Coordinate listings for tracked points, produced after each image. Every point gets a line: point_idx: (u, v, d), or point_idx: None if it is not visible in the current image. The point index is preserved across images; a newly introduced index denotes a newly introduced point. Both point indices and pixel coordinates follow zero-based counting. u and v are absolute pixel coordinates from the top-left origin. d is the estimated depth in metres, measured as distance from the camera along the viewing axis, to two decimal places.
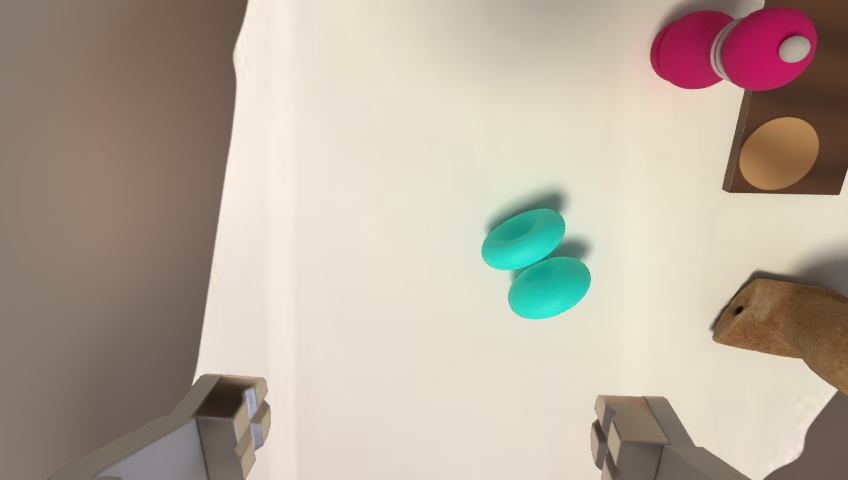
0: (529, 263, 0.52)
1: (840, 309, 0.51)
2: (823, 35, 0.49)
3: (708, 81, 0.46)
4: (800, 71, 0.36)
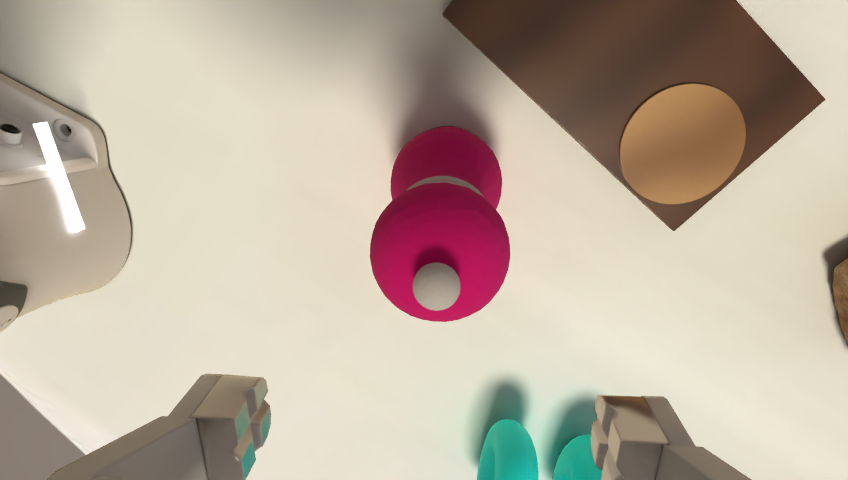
0: None
1: None
2: (568, 0, 0.30)
3: None
4: (495, 262, 0.19)
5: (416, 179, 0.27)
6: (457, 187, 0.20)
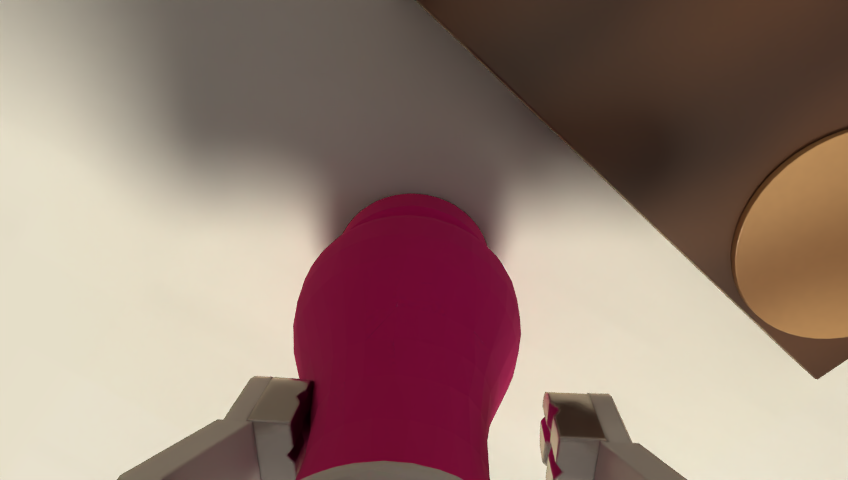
0: None
1: None
2: None
3: None
4: None
5: (329, 384, 0.11)
6: None
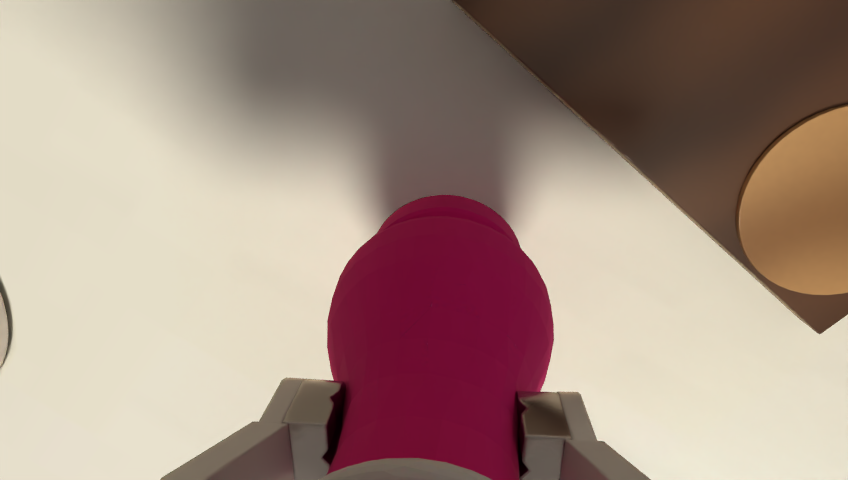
0: None
1: None
2: None
3: None
4: None
5: (363, 380, 0.11)
6: None
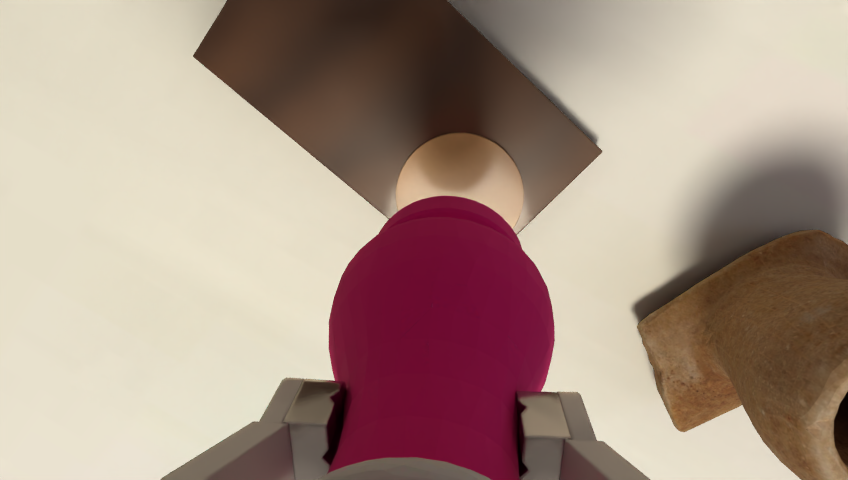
0: None
1: (752, 349, 0.24)
2: (321, 44, 0.28)
3: None
4: None
5: (363, 380, 0.11)
6: None
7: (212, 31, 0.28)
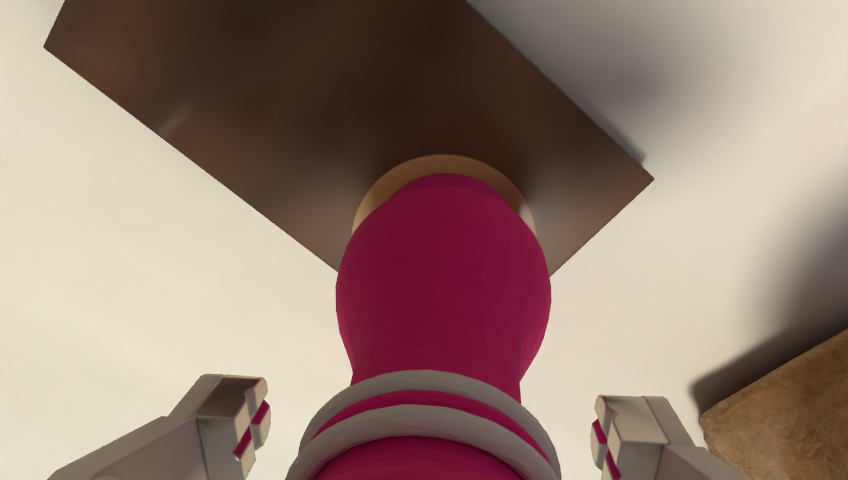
0: None
1: None
2: (228, 25, 0.19)
3: None
4: None
5: (373, 324, 0.12)
6: None
7: (66, 9, 0.19)
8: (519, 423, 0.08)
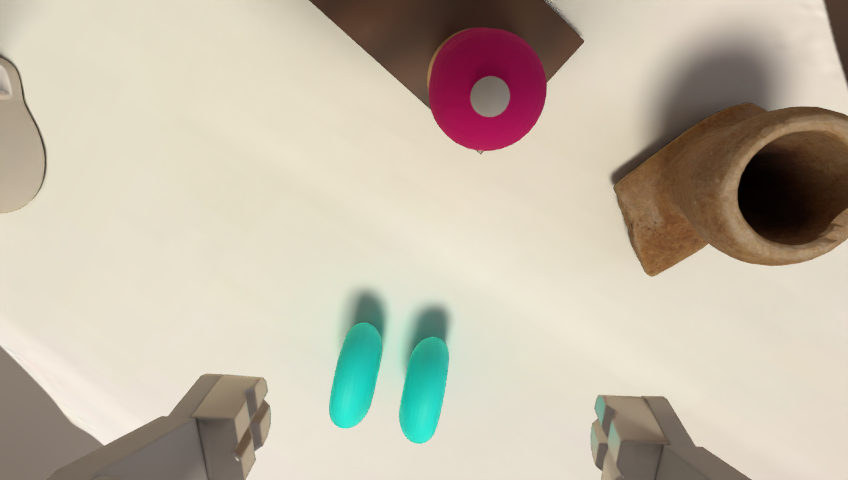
0: (358, 409, 0.43)
1: (690, 168, 0.34)
2: None
3: None
4: (536, 88, 0.23)
5: None
6: None
7: None
8: None
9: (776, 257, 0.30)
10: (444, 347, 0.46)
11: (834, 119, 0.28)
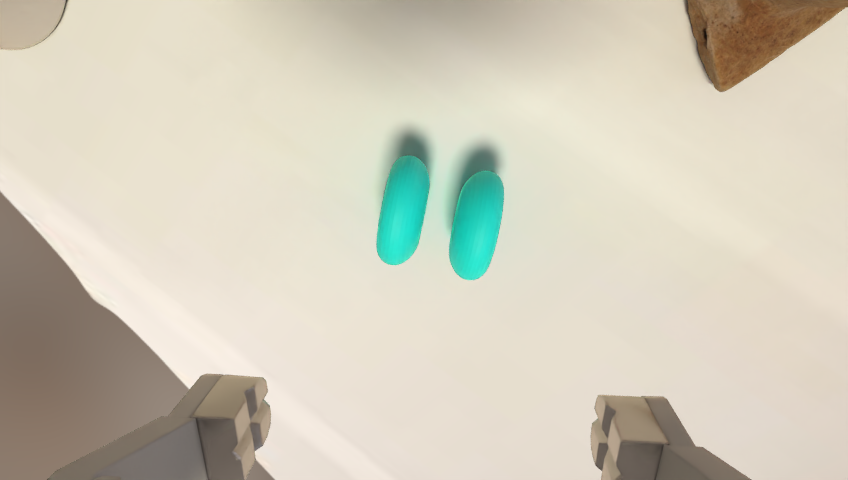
0: (409, 232, 0.40)
1: None
2: None
3: None
4: None
5: None
6: None
7: None
8: None
9: None
10: (498, 176, 0.43)
11: None
